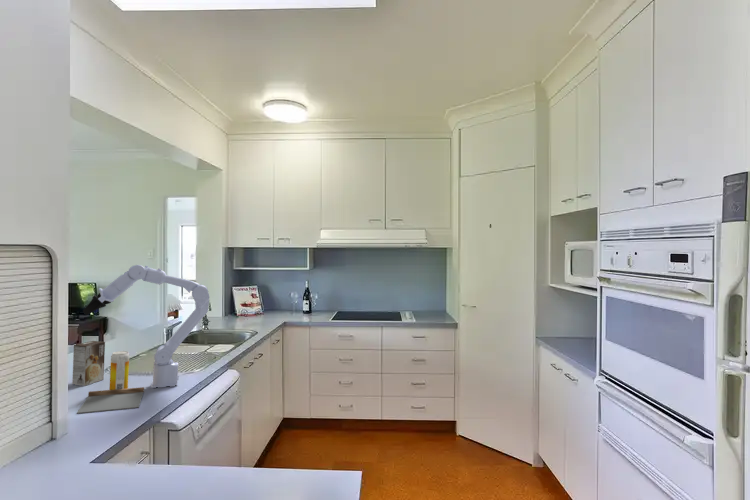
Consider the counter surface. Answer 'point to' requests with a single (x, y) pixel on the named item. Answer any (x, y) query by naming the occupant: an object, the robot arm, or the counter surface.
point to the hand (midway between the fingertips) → (87, 311)
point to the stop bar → (115, 391)
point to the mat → (111, 402)
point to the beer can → (119, 370)
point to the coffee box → (88, 363)
